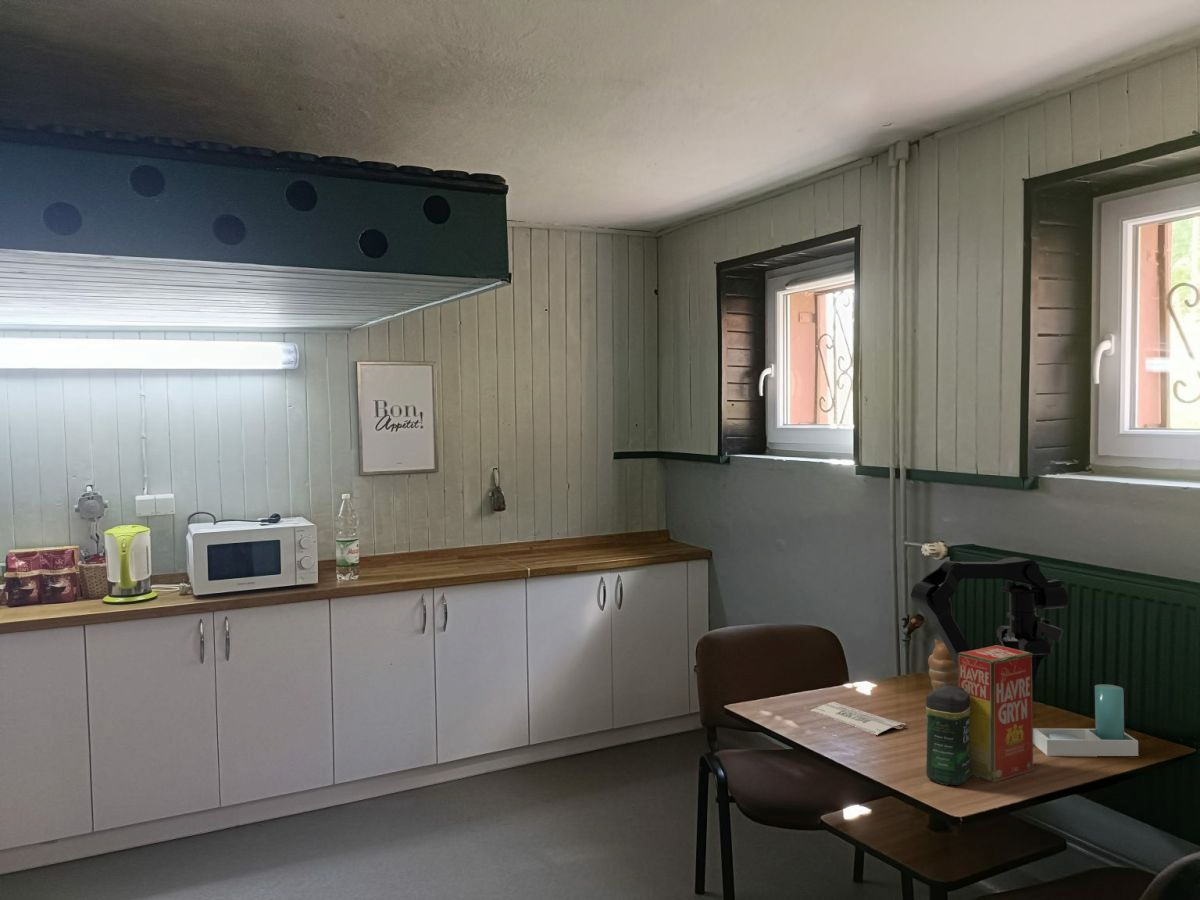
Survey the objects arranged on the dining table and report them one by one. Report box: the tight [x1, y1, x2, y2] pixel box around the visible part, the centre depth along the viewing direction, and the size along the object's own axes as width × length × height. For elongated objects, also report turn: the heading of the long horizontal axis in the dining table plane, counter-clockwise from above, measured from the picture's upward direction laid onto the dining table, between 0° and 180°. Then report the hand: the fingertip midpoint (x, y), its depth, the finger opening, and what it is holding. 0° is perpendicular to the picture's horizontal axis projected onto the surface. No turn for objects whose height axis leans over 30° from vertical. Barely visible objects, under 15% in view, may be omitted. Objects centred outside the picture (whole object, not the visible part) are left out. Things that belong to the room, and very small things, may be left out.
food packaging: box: [958, 644, 1034, 783], centre depth 185 cm, size 13×9×25 cm
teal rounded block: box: [1094, 683, 1125, 740], centre depth 195 cm, size 6×6×13 cm
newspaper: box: [811, 701, 907, 736], centre depth 220 cm, size 23×12×2 cm, turn 33°
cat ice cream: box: [927, 639, 958, 690], centre depth 226 cm, size 9×8×18 cm
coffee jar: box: [925, 685, 972, 786], centre depth 181 cm, size 10×8×19 cm
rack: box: [1033, 727, 1139, 757], centre depth 195 cm, size 19×8×4 cm, turn 85°
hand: (1024, 675), depth 210 cm, fingers open, 9 cm apart
